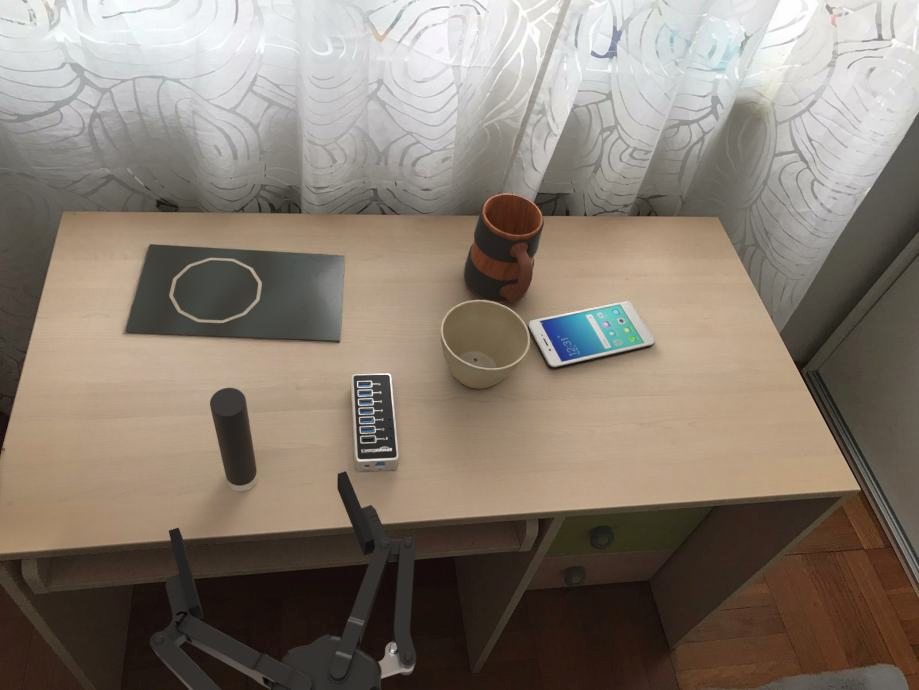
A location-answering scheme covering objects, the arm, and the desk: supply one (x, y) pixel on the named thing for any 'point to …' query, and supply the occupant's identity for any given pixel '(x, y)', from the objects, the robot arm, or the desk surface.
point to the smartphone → (590, 334)
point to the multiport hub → (374, 423)
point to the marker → (234, 438)
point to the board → (238, 294)
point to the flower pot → (483, 342)
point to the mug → (504, 248)
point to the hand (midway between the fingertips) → (262, 506)
